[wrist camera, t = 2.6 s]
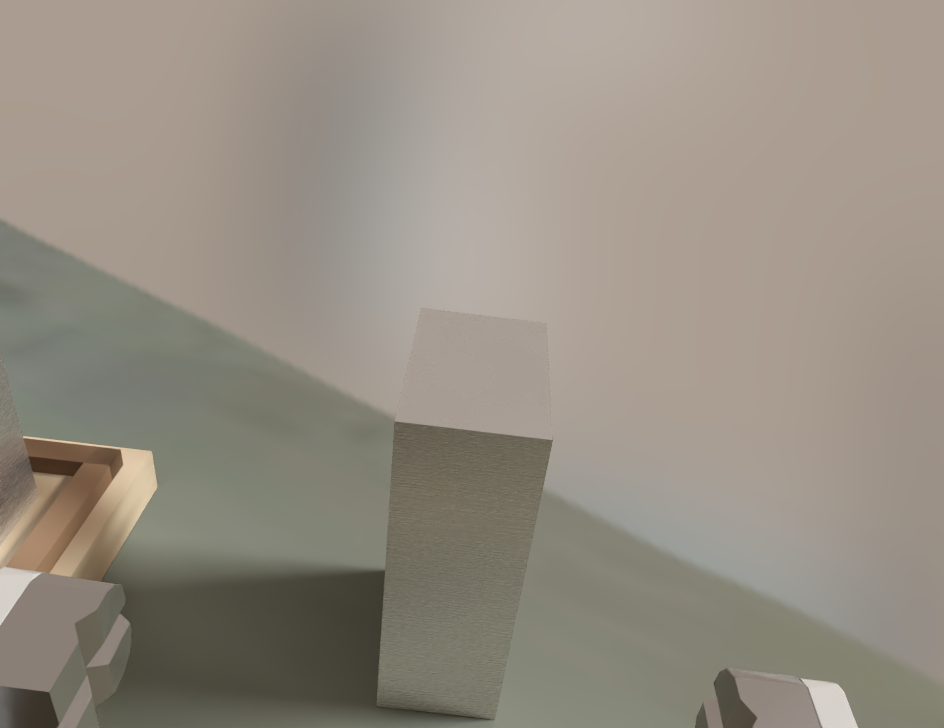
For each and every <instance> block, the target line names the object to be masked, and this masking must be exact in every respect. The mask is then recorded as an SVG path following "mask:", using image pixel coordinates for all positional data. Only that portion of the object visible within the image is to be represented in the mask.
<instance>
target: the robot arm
mask: <svg viewBox="0 0 944 728" xmlns="http://www.w3.org/2000/svg"><path fill="white" fill-rule="evenodd" d="M125 603H126V599H125V594H124V590H123V586H122V585H118V584H112V583H105V582H99V581H93V580H86V579H80V578H74V577H67V576H61V575H55V574H48V573H44V572H37V571H30V570H23V569H16V568H9V567H3V568H2V569H0V728H98V726H99V724H98V720H97V715H96V711H95V707H96V706H98V705H99V704H101V703H102V702H103V701H105V700H106V699H107V698H109V697H110V696H112V695H113V694H114V693H115V691H116V689H117V687H118V685H119V683H120V681H121V679H122V677H123V674H124V672H125V668H126V665H127V662H128V658H129V655H130V651H131V639H132V632H131V626H130V622H129V621H128V620H126V619H125V618H124V617H123V616H122V615H121V614H120V612H121V610H122V608H123V606H124V604H125ZM714 687H715V692H716V696H714V697H712V698H710V699H709V700H707V701H705V702H703V704H702V706H701V708H700V711H699V713H698V715H697V718H696V725H695V728H858V727H857V724H856V722H855V719H854V716H853V714H852V711H851V709H850V706H849V704H848V701H847V698H846V696H845V693H844V691H843V690H842V689H841V688H840V687H839V686H838V684H835V683H831V682H825V681H816V680H808V679H799V678H796V677H794V676H786V675H778V674H770V673H762V672H754V671H746V670H737V669H729V668H726V669H724V670H722V671H720V672H719V674H718V676H717V678H716V680H715V681H714Z"/></svg>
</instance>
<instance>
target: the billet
mask: <svg viewBox="0 0 944 728" xmlns="http://www.w3.org/2000/svg"><path fill="white" fill-rule="evenodd" d="M38 496H39V494H38V490H37V487H36V483H35V479H34V476H33V472H32V468H31V464H30V461H29V457H28V453H27V450H26V446H25V442H24V438H23V435H22V431H21V427H20V424H19V420H18V416H17V412H16V409H15V405H14V401H13V398H12V394H11V390H10V386H9V383H8V379H7V375H6V372H5V368H4V364H3V360H2V357H1V353H0V545H1V544H2V542H3V541H4V540H5V538H6V537H7V536H8V535H9V533H10V532H11V531H12V530H13V528H14V527H15V526H16V524H17V523H18V522H19V521H20V519H21V518H22V517H23V515H24V514H25V513H26V512H27V510H28V509H29V508H30V507H31V505H32V504H33V503H34V501H35V500H36V499H37V498H38Z"/></svg>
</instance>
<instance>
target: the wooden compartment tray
mask: <svg viewBox="0 0 944 728" xmlns="http://www.w3.org/2000/svg"><path fill="white" fill-rule="evenodd" d="M23 438H24V442H25V446H26V450H27V453H28V457H29V461H30V464H31V468H32V472H33V476H34V479H35V483H36V487H37V490H38V494H39V496H38V498H37V499H36V500H35V501H34V503H33V504H32V505H31V507H30V508H29V509H28V510H27V512H26V513H25V514H24V515H23V517H22V518H21V519H20V521H19V522H18V523H17V524H16V526H15V527H14V528H13V530H12V531H11V532H10V533H9V535H8V536H7V537H6V538H5V540H4V541H3V542H2V544H1V545H0V569H2V568H3V567H9V568H16V569H23V570H30V571H37V572H44V573H48V574H55V575H61V576H67V577H74V578H80V579H86V580H93V581H99V582H101V580H102V579H103V577H104V575H105V574H106V572H107V570H108V569H109V567H110V565H111V564H112V562H113V560H114V559H115V557H116V555H117V554H118V552H119V550H120V549H121V547H122V545H123V544H124V542H125V540H126V539H127V537H128V535H129V534H130V532H131V530H132V529H133V527H134V525H135V524H136V522H137V520H138V519H139V517H140V515H141V514H142V512H143V510H144V509H145V507H146V505H147V504H148V502H149V500H150V499H151V497H152V495H153V494H154V492H155V490H156V489H157V482H156V475H155V469H154V462H153V456H152V451H145V450H136V449H128V448H119V447H111V446H102V445H94V444H85V443H77V442H68V441H60V440H51V439H43V438H34V437H26V436H23Z"/></svg>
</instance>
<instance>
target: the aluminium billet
mask: <svg viewBox="0 0 944 728" xmlns="http://www.w3.org/2000/svg"><path fill="white" fill-rule="evenodd" d="M547 343H548V342H547V324H546V323H541V322H532V321H523V320H516V319H508V318H498V317H491V316H483V315H475V314H466V313H458V312H449V311H441V310H433V309H424V308H421V312H420V316H419V321H418V325H417V329H416V333H415V337H414V342H413V346H412V350H411V354H410V358H409V363H408V367H407V371H406V376H405V380H404V384H403V389H402V392H401V397H400V401H399V405H398V409H397V414H396V418H395V424H394V440H393V456H392V471H391V487H390V502H389V518H388V533H387V549H386V564H385V580H384V595H383V611H382V626H381V642H380V657H379V673H378V688H377V704H376V706H380V707H388V708H397V709H406V710H414V711H423V712H432V713H440V714H449V715H458V716H466V717H475V718H484V719H492V720H495V716H496V711H497V706H498V702H499V697H500V692H501V687H502V682H503V678H504V673H505V668H506V663H507V658H508V653H509V649H510V644H511V639H512V634H513V629H514V625H515V620H516V615H517V610H518V605H519V600H520V596H521V591H522V586H523V581H524V576H525V572H526V567H527V562H528V557H529V552H530V547H531V543H532V538H533V533H534V528H535V523H536V519H537V514H538V509H539V504H540V499H541V494H542V490H543V485H544V480H545V475H546V470H547V466H548V460H549V456H550V451H551V446H552V441H553V435H552V418H551V399H550V380H549V361H548V344H547Z"/></svg>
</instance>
